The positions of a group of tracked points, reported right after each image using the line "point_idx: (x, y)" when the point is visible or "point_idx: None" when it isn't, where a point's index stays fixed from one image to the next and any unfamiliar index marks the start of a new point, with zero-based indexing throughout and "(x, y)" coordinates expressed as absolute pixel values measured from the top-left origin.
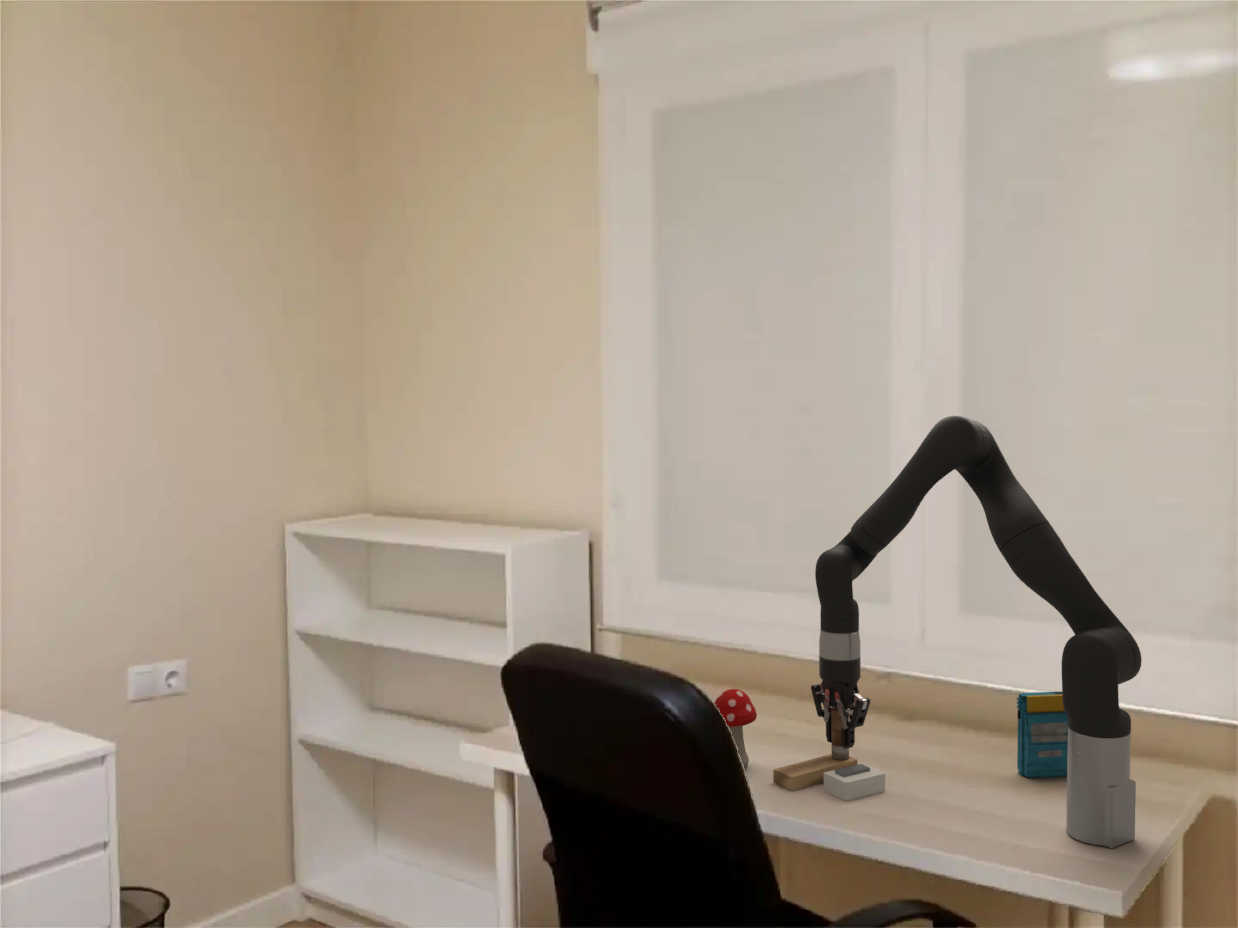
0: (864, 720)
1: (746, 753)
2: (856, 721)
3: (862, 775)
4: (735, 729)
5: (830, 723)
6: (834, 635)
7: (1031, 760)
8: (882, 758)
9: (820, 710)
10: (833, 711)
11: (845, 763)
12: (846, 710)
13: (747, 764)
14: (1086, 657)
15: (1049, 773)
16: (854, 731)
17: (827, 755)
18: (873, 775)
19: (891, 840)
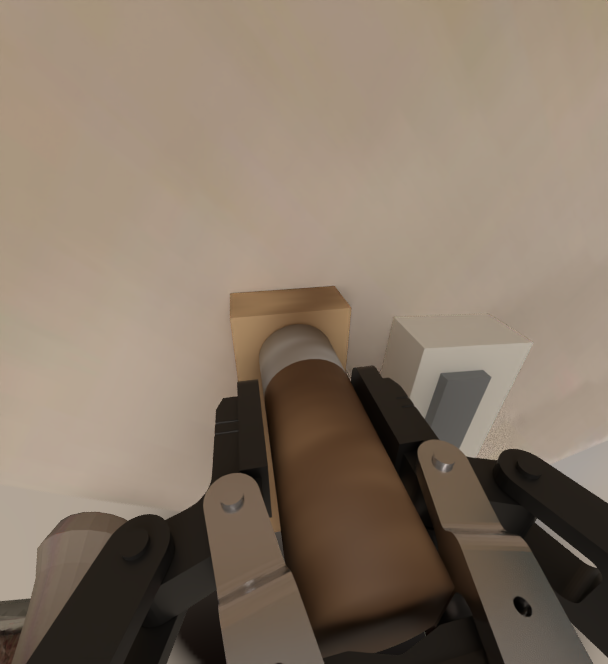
0: (583, 489)
1: (88, 555)
2: (556, 546)
3: (483, 407)
4: None
5: (269, 511)
6: None
7: None
8: (260, 15)
9: (174, 637)
10: (367, 649)
11: (345, 364)
12: (439, 597)
13: (113, 523)
14: None
15: None
16: (433, 432)
17: (241, 377)
18: (510, 383)
19: (592, 443)
